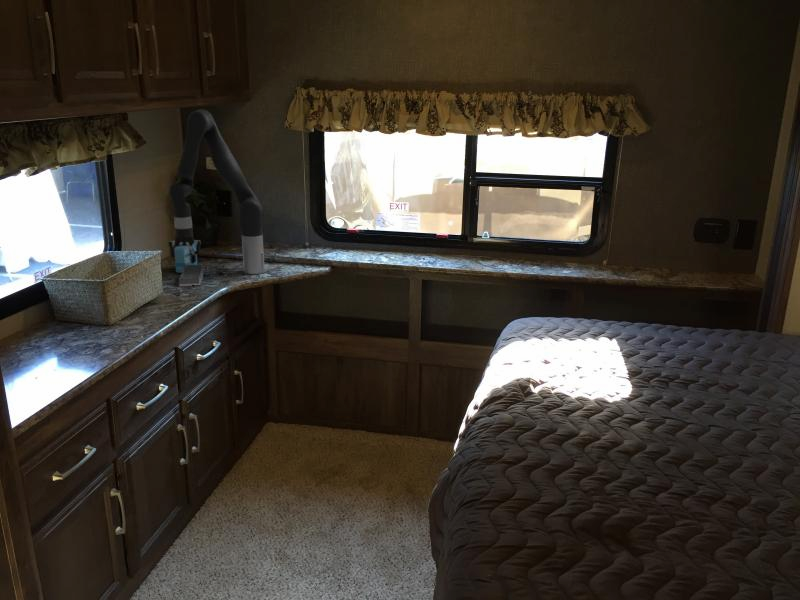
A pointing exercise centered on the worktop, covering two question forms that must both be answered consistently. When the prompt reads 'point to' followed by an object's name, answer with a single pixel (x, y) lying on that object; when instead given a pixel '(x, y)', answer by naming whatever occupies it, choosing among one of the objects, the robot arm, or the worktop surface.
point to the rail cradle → (191, 275)
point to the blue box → (183, 257)
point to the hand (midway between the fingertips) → (186, 262)
